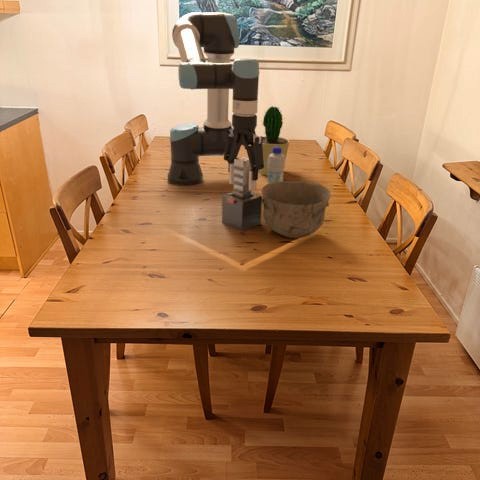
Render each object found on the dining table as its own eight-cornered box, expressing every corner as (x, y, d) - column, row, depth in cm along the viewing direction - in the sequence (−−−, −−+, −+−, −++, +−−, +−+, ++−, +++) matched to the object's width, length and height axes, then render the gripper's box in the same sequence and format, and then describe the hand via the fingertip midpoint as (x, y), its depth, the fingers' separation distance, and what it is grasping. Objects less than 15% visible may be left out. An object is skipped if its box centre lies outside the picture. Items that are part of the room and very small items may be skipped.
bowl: (281, 255, 133) (285, 208, 127) (246, 227, 150) (248, 184, 144) (340, 241, 143) (346, 197, 136) (301, 217, 160) (305, 176, 153)
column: (231, 223, 150) (232, 158, 141) (241, 219, 153) (243, 156, 144) (241, 227, 148) (242, 161, 138) (250, 223, 151) (253, 159, 141)
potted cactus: (294, 174, 205) (299, 106, 192) (267, 179, 197) (271, 109, 184) (273, 165, 216) (277, 101, 203) (247, 170, 208) (249, 103, 195)
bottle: (281, 200, 174) (285, 149, 165) (264, 199, 175) (267, 148, 166) (283, 194, 180) (287, 145, 171) (267, 193, 181) (269, 144, 172)
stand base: (211, 225, 151) (211, 194, 146) (240, 214, 160) (241, 185, 155) (241, 239, 142) (242, 206, 137) (270, 226, 151) (272, 196, 147)
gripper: (212, 110, 139) (212, 180, 149) (262, 121, 126) (258, 197, 136) (229, 107, 144) (228, 176, 154) (279, 117, 131) (274, 191, 141)
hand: (242, 186), depth 145 cm, fingers open, 8 cm apart
